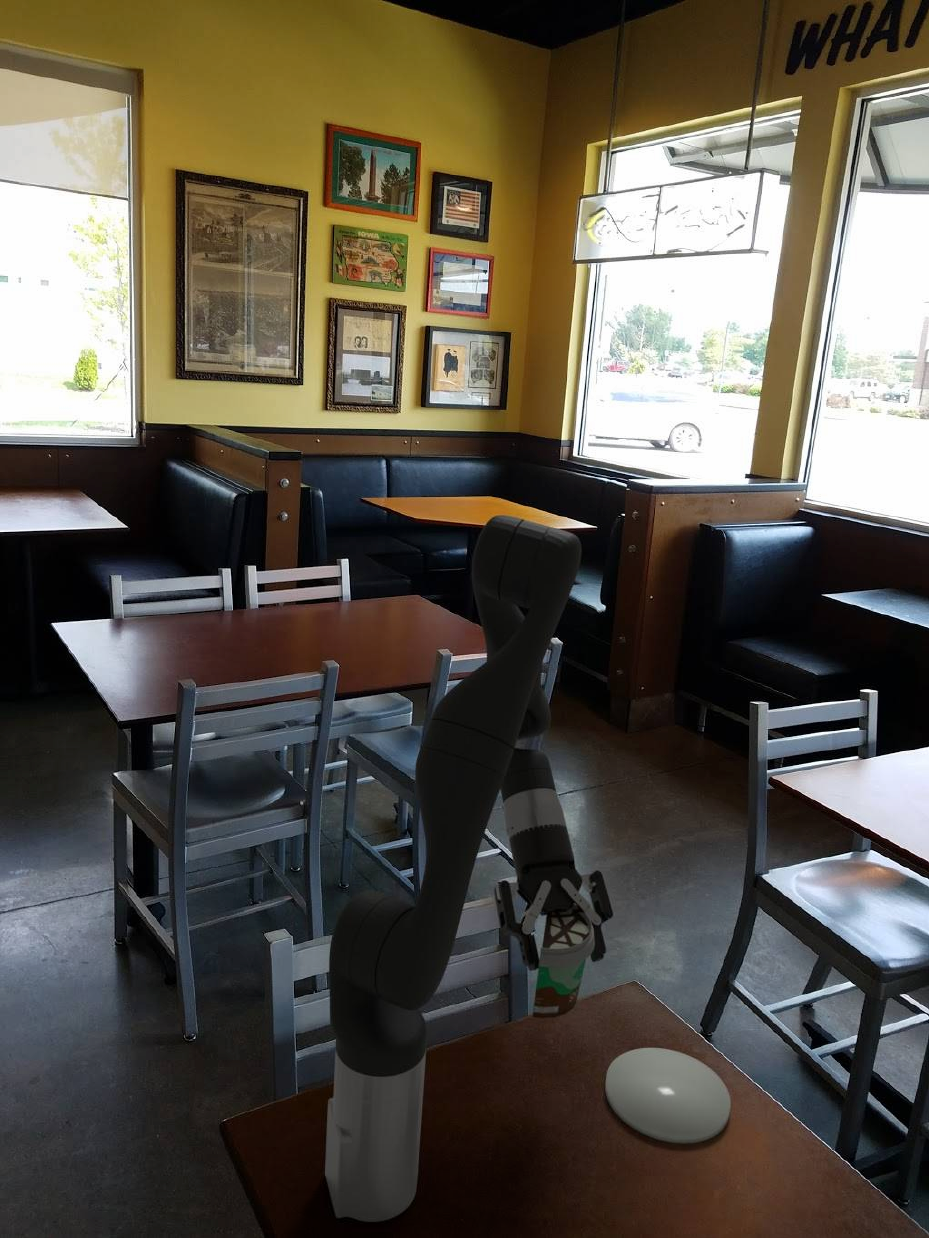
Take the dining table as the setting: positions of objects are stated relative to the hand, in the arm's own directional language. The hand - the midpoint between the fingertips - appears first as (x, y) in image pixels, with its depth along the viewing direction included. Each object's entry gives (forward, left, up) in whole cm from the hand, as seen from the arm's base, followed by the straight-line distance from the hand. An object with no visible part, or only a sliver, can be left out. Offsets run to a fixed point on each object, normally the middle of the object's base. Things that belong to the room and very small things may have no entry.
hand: (567, 964), depth 115 cm
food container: (0, +1, -5) cm, 6 cm away
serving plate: (+13, -5, -17) cm, 22 cm away
